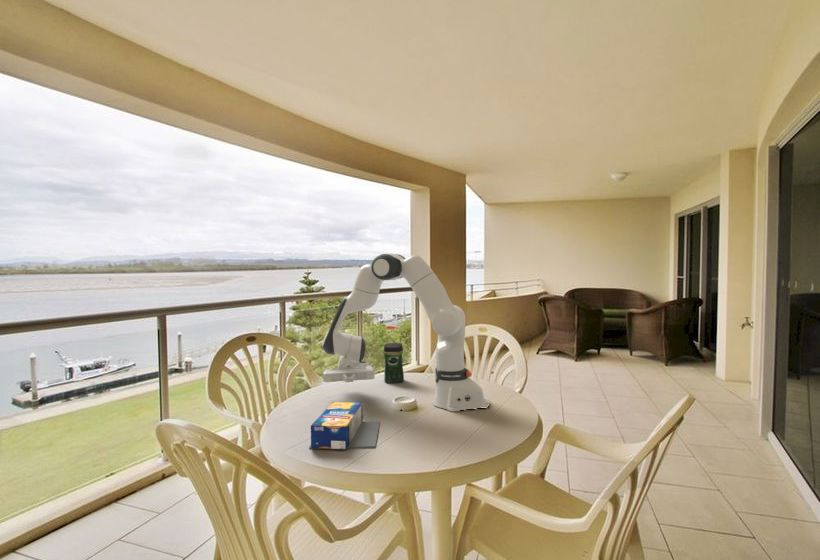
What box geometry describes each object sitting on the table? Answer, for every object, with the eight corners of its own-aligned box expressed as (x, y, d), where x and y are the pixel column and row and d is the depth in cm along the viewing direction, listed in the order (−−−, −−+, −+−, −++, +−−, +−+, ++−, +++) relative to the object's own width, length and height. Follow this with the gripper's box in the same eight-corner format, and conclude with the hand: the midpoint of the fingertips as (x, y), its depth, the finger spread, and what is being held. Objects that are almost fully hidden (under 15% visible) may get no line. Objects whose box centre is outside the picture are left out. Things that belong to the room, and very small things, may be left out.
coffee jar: (404, 378, 190) (403, 341, 189) (403, 383, 182) (403, 344, 181) (384, 378, 190) (383, 341, 189) (383, 383, 182) (382, 344, 181)
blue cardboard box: (363, 421, 136) (346, 449, 114) (333, 421, 137) (310, 448, 115) (362, 402, 136) (346, 426, 114) (332, 402, 137) (310, 425, 115)
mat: (379, 422, 135) (379, 421, 135) (375, 447, 116) (375, 446, 116) (323, 423, 135) (323, 422, 135) (309, 448, 116) (309, 447, 116)
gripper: (322, 364, 157) (321, 373, 144) (372, 361, 161) (375, 370, 148) (323, 379, 158) (321, 389, 144) (372, 376, 161) (375, 386, 148)
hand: (349, 379), depth 146 cm, fingers closed
